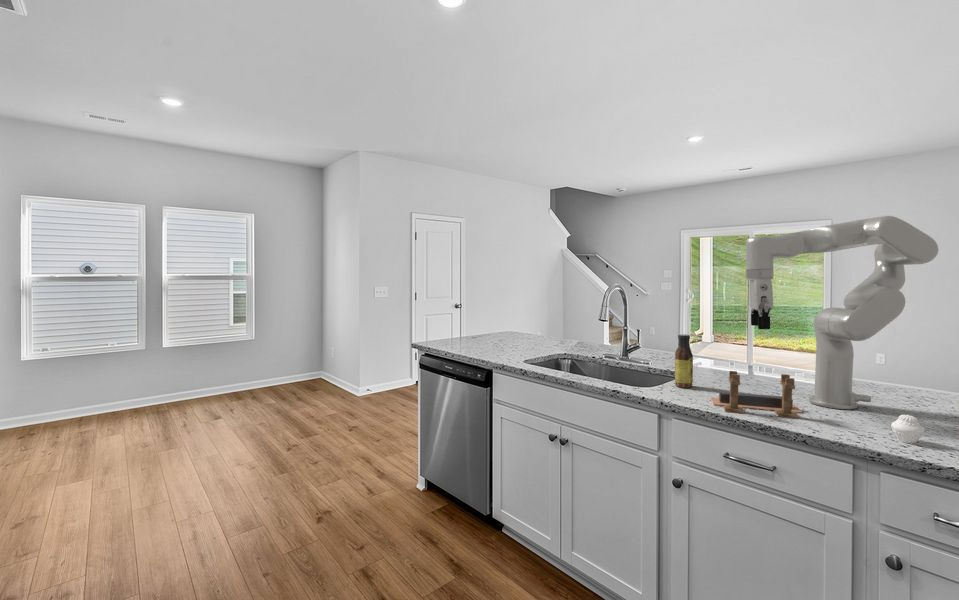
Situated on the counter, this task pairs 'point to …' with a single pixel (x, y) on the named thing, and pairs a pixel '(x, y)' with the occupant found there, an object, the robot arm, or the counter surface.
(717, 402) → the mat
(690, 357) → the sauce bottle
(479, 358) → the counter surface
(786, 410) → the hook stands
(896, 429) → the muffin
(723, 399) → the rail
